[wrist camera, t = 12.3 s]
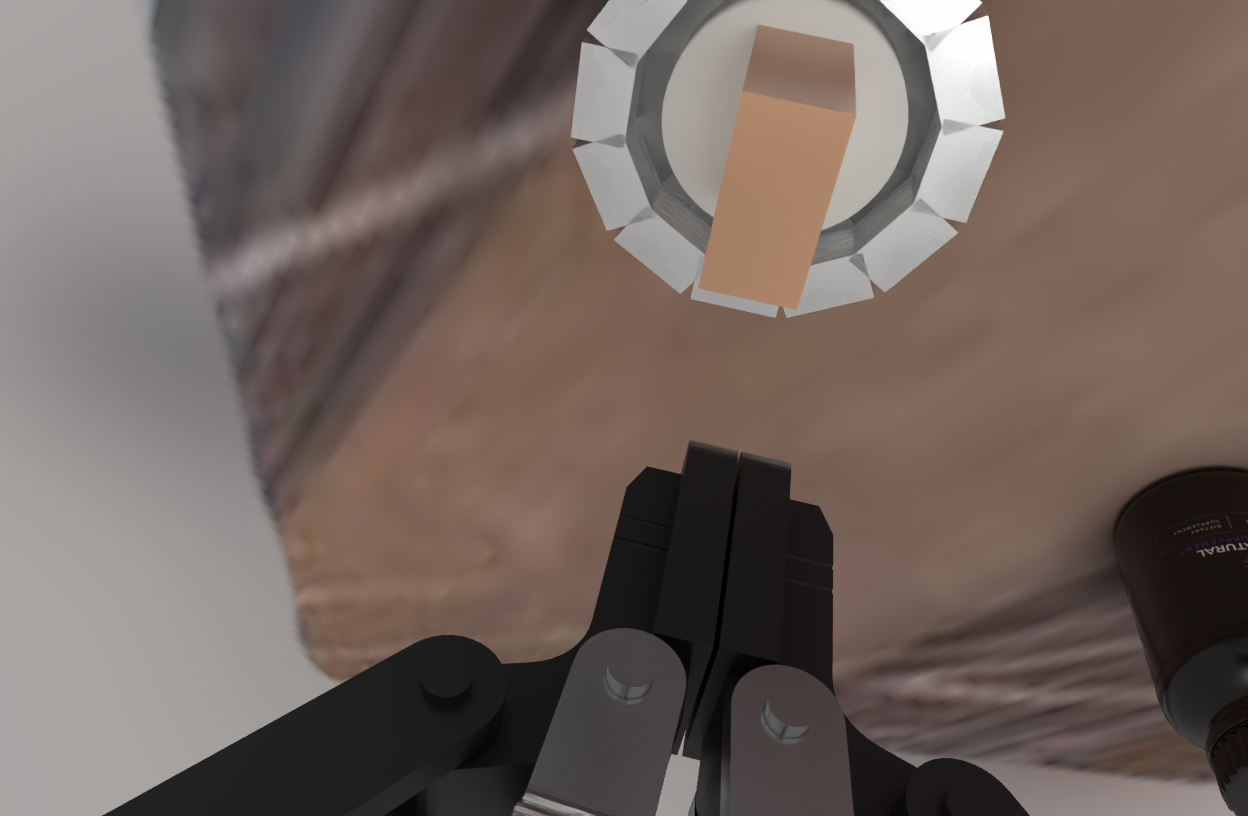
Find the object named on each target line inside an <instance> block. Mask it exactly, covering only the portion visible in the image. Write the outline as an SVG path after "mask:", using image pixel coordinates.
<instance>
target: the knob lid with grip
mask: <svg viewBox="0 0 1248 816" xmlns="http://www.w3.org/2000/svg"><path fill="white" fill-rule="evenodd" d="M907 127H908V100H907V94H906V87H905V81H904V75H903V69H902V65H901V61H900V58H899V55H898V51H897V49H896V47H895V45H894V43H893V41H892V38H891V37H890V35H889V34H888V32H887V30H886V29H885V27H884V26H883V24H882V23H881V22H880V21H879V20H878V19H877V17H876V16H875V15H874V14H873V13H872V12H871V11H870V10H869V9H867V8H866V7H865V6H864V5H863V4H862V3H860V2H859V1H857V0H726V1H724V2H723V3H721V4H720V5H719V6H718V7H716V8H715V9H714V10H713V11H711V12H710V13H709V14H708V15H707V16H706V17H705V18H704V19H703V20H702V21H701V22H700V23H699V25H698V26H697V27H696V29H695V30H694V31H693V33H692V34H691V35H690V37H689V38H688V40H687V42H686V44H685V46H684V48H683V49H682V51H681V54H680V56H679V58H678V61H677V63H676V65H675V68H674V70H673V72H672V75H671V77H670V80H669V83H668V85H667V88H666V93H665V97H664V101H663V109H662V135H663V142H664V148H665V151H666V154H667V158H668V161H669V163H670V166H671V168H672V170H673V172H674V175H675V176H676V178H677V180H678V181H679V183H680V185H681V186H682V188H683V189H684V190H685V191H686V193H687V194H688V195H689V196H690V198H691V199H692V200H693V201H694V202H695V203H696V204H697V205H698V206H699V207H700V208H702V209H703V210H704V211H705V212H707V213H708V214H709V215H711V216H712V217H714V219H713V224H712V228H711V232H710V237H709V241H708V246H707V250H706V255H705V259H704V263H703V268H702V272H701V277H700V281H699V286H698V289H703V290H707V291H712V292H717V293H721V294H726V295H730V296H735V297H739V298H744V299H748V300H753V301H757V302H762V303H766V304H771V305H775V306H780V307H784V308H789V309H794V310H797V308H798V305H799V302H800V298H801V295H802V292H803V289H804V285H805V282H806V279H807V276H808V272H809V269H810V266H811V262H812V259H813V256H814V253H815V249H816V246H817V243H818V240H819V236H820V233H821V230H824V229H827V228H830V227H832V226H834V225H836V224H838V223H841V222H843V221H844V220H846V219H847V218H849V217H851V216H852V215H854V214H855V213H857V212H858V211H859V210H860V209H862V208H863V207H864V206H866V205H867V204H868V203H869V202H870V201H871V200H872V199H873V198H874V197H875V196H876V195H877V194H878V193H879V191H880V190H881V189H882V187H883V186H884V185H885V184H886V182H887V181H888V179H889V178H890V176H891V174H892V172H893V171H894V169H895V167H896V165H897V163H898V160H899V158H900V156H901V153H902V150H903V147H904V143H905V139H906V134H907Z"/></svg>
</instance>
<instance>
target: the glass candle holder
mask: <svg viewBox="0 0 1248 816" xmlns="http://www.w3.org/2000/svg"><path fill="white" fill-rule="evenodd" d="M724 1H726V0H609V1H608V2H607V3H606V5H605V6H604V7H603V9H602V10H601V11H600V13H599V14H598V15H597V17H596V18H595V19H594V21H593V22H592V24H591V25H590V26H589V28H588V29H587V31H588V32H589V33H588V34H587V36H586V37H585V39H584V40H583V41H582V46H581V55H580V63H579V72H578V80H577V88H576V97H575V105H574V114H573V122H572V131H571V137H572V138H577V139H578V140H577V142H576V144H575V145H574V147H573V151H574V154H575V156H576V159H577V161H578V163H579V166H580V168H581V170H582V173H583V175H584V178H585V180H586V182H587V185H588V187H589V190H590V192H591V194H592V197H593V199H594V201H595V204H596V206H597V209H598V211H599V213H600V216H601V218H602V220H603V223H604V225H605V228H606V230H607V231H608V230H612V229H615V228H618V231H617V233H616V235H615V238H614V240H615V241H616V242H617V243H618V244H619V245H621V246H622V247H623V248H624V249H626V250H627V251H628V252H629V253H631V254H632V255H633V256H634V257H635V258H637V259H638V260H639V261H640V262H642V263H643V264H644V265H645V266H647V267H648V268H649V269H650V270H651V271H653V272H654V273H655V274H656V275H658V276H659V277H660V278H661V279H663V280H664V281H665V282H666V283H667V284H669V285H670V286H671V287H672V288H674V289H675V290H676V291H677V292H679V293H680V294H681V293H682V292H683V291H684V290H685V289H686V288H687V287H688V286H689V285H691V284H692V283H693V282H694V286H693V290H692V295H691V299H693V300H698V301H702V302H707V303H711V304H715V305H720V306H724V307H729V308H733V309H738V310H742V311H747V312H751V313H756V314H760V315H765V316H769V317H774V318H775V317H776V314H777V310H778V307H779V306H775V305H771V304H766V303H762V302H757V301H753V300H748V299H744V298H739V297H735V296H730V295H726V294H721V293H717V292H712V291H707V290H703V289H698V286H699V281H700V277H701V272H702V268H703V263H704V259H705V255H706V250H707V246H708V241H709V237H710V232H711V228H712V224H713V219H714V217H712V216H711V215H709V214H708V213H707V212H705V211H704V210H703V209H702V208H700V207H699V206H698V205H697V204H696V203H695V202H694V201H693V200H692V199H691V198H690V196H689V195H688V194H687V193H686V191H685V190H684V189H683V188H682V186H681V185H680V183H679V181H678V180H677V178H676V176H675V175H674V172H673V170H672V168H671V166H670V163H669V161H668V158H667V154H666V151H665V148H664V142H663V135H662V109H663V101H664V97H665V93H666V88H667V85H668V83H669V80H670V77H671V75H672V72H673V70H674V68H675V65H676V63H677V61H678V58H679V56H680V54H681V51H682V49H683V48H684V46H685V44H686V42H687V40H688V38H689V37H690V35H691V34H692V33H693V31H694V30H695V29H696V27H697V26H698V25H699V23H700V22H701V21H702V20H703V19H704V18H705V17H706V16H707V15H708V14H709V13H710V12H711V11H713V10H714V9H715V8H716V7H718V6H719V5H720V4H721V3H723V2H724ZM857 1H859V2H860V3H862V4H863V5H864V6H865V7H866V8H867V9H869V10H870V11H871V12H872V13H873V14H874V15H875V16H876V17H877V19H878V20H879V21H880V22H881V23H882V24H883V26H884V27H885V29H886V30H887V32H888V34H889V35H890V37H891V38H892V41H893V43H894V45H895V47H896V49H897V51H898V55H899V58H900V61H901V65H902V69H903V75H904V81H905V87H906V94H907V100H908V127H907V134H906V139H905V143H904V147H903V150H902V153H901V156H900V158H899V160H898V163H897V165H896V167H895V169H894V171H893V172H892V174H891V176H890V178H889V179H888V181H887V182H886V184H885V185H884V186H883V187H882V189H881V190H880V191H879V193H878V194H877V195H876V196H875V197H874V198H873V199H872V200H871V201H870V202H869V203H868V204H867V205H866V206H864V207H863V208H862V209H860V210H859V211H858V212H857V213H855V214H854V215H852V216H851V217H849V218H847V219H846V220H844V221H843V222H841V223H838V224H836V225H834V226H832V227H830V228H827V229H824V230H821V233H820V236H819V240H818V243H817V246H816V249H815V253H814V256H813V259H812V262H811V266H810V269H809V272H808V276H807V279H806V282H805V285H804V289H803V292H802V295H801V298H800V302H799V305H798V308H797V310H794V309H789V308H784V307H783V308H784V311H785V314H786V317H787V318H788V317H793V316H797V315H801V314H805V313H810V312H814V311H818V310H823V309H827V308H831V307H836V306H840V305H844V304H849V303H853V302H857V301H862V300H866V299H870V298H874V283H875V284H876V285H877V286H878V287H880V288H881V289H882V290H883V291H884V292H886V291H887V290H889V289H890V288H891V287H892V286H894V285H895V284H896V283H897V282H898V281H900V280H901V279H902V278H903V277H905V276H906V275H907V274H908V273H909V272H911V271H912V270H913V269H914V268H916V267H917V266H918V265H919V264H921V263H922V262H923V261H924V260H925V259H927V258H928V257H929V256H930V255H932V254H933V253H934V252H935V251H936V250H938V249H939V248H940V247H941V246H943V245H944V244H945V243H946V242H947V241H949V240H950V239H951V238H952V237H954V236H955V235H956V234H957V233H958V229H957V225H956V221H960V222H965V223H966V221H967V219H968V216H969V214H970V211H971V209H972V206H973V204H974V202H975V199H976V197H977V194H978V192H979V189H980V187H981V185H982V182H983V180H984V177H985V175H986V172H987V170H988V168H989V165H990V163H991V160H992V158H993V155H994V153H995V151H996V148H997V146H998V143H999V141H1000V138H1001V136H1002V134H1003V128H1002V126H1001V123H1000V119H1004V118H1005V114H1004V108H1003V102H1002V96H1001V90H1000V84H999V78H998V72H997V66H996V60H995V54H994V48H993V42H992V36H991V30H990V24H989V18H988V14H987V12H986V10H985V8H984V5H983V3H982V1H981V0H857ZM873 282H874V283H873Z"/></svg>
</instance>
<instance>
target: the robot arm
mask: <svg viewBox="0 0 1248 816" xmlns="http://www.w3.org/2000/svg"><path fill="white" fill-rule="evenodd" d="M737 460H738V462H737ZM790 482H791V464H790V463H787V462H783V461H779V460H774V459H770V458H766V457H761V456H757V455H753V454H748V453H744V452H741V454H740V456H739V459H738V451H734V450H730V449H726V448H721V447H717V446H713V445H708V444H704V443H700V442H695V441H691V440H690V441H689V444H688V448H687V452H686V456H685V460H684V464H683V468H682V472H681V474H678V473H673V472H669V471H665V470H660V469H656V468H652V467H648V466H647V467H646V468H645V469H644V470H643V471H642V472H641V473H640V474H639V475H638V476H637V477H636V478H635V479H634V480H633V481H632V482H631V483H630V484H629V485H628V486H627V488H626V492H625V496H624V500H623V504H622V508H621V511H620V515H619V520H618V523H617V527H616V531H615V534H614V539H613V542H612V546H611V550H610V554H609V557H608V561H607V565H606V569H605V573H604V577H603V580H602V584H601V588H600V592H599V596H598V600H597V604H596V607H595V611H594V615H593V619H592V622H591V625H590V628H589V630H588V631H587V633H586V635H585V636H584V637H583V639H582V640H581V641H580V642H579V643H578V644H577V645H576V646H575V647H573V648H572V649H571V650H569V651H567V652H566V653H564V654H562V655H560V656H557V657H555V658H552V659H548V660H545V661H538V662H528V663H510V664H501V662H500V661H499V659H498V658H497V656H496V655H495V654H494V653H493V652H492V651H491V650H490V649H489V648H487V647H486V646H484V645H483V644H481V643H479V642H477V641H475V640H473V639H470V638H466V637H463V636H456V635H440V636H434V637H430V638H426V639H423V640H421V641H419V642H416V643H414V644H412V645H410V646H409V647H407V648H405V649H403V650H401V651H400V652H398V653H396V654H394V655H392V656H391V657H389V658H387V659H385V660H383V661H381V662H380V663H378V664H376V665H374V666H372V667H371V668H369V669H367V670H365V671H363V672H362V673H360V674H358V675H356V676H354V677H353V678H351V679H349V680H347V681H345V682H343V683H342V684H340V685H338V686H336V687H334V688H333V689H331V690H329V691H327V692H325V693H324V694H322V695H320V696H318V697H316V698H315V699H313V700H311V701H309V702H307V703H305V704H304V705H302V706H300V707H298V708H296V709H295V710H293V711H291V712H289V713H287V714H286V715H284V716H282V717H280V718H279V719H277V720H275V721H273V722H271V723H269V724H268V725H266V726H264V727H262V728H260V729H258V730H257V731H255V732H253V733H251V734H249V735H248V736H246V737H244V738H242V739H240V740H239V741H237V742H235V743H233V744H231V745H229V746H228V747H226V748H224V749H222V750H220V751H219V752H217V753H215V754H213V755H211V756H210V757H208V758H206V759H204V760H202V761H201V762H199V763H197V764H195V765H193V766H191V767H190V768H188V769H186V770H184V771H182V772H181V773H179V774H177V775H175V776H173V777H172V778H170V779H168V780H166V781H164V782H163V783H161V784H159V785H157V786H155V787H153V788H152V789H150V790H148V791H146V792H145V793H143V794H141V795H139V796H137V797H136V798H134V799H132V800H130V801H128V802H126V803H125V804H123V805H121V806H119V807H117V808H116V809H114V810H112V811H110V812H108V813H106V814H105V815H103V816H655V814H656V810H657V806H658V802H659V798H660V794H661V790H662V786H663V782H664V777H665V774H666V769H667V766H668V763H669V759H670V756H671V754H675V755H677V754H678V751H679V748H680V745H681V742H682V739H683V736H684V733H685V730H686V733H685V740H684V747H683V754H682V756H685V757H689V758H693V759H697V760H700V767H699V775H698V783H697V790H696V793H695V796H694V799H693V801H692V804H691V806H690V809H689V813H688V816H1029V814H1028V813H1027V812H1026V811H1025V809H1024V808H1023V807H1022V806H1021V805H1020V803H1019V802H1018V801H1017V800H1016V799H1015V797H1014V796H1013V795H1012V794H1011V793H1010V791H1009V790H1008V789H1007V788H1005V786H1004V785H1003V784H1002V783H1001V782H1000V781H999V780H997V779H996V778H995V777H994V776H993V775H991V774H990V773H988V772H987V771H985V770H983V769H982V768H980V767H978V766H976V765H974V764H971V763H969V762H966V761H963V760H958V759H953V758H940V759H934V760H931V761H928V762H926V763H924V764H922V765H921V766H919V767H918V768H916V767H915V766H913V765H911V764H910V763H908V762H906V761H904V760H902V759H901V758H899V757H897V756H895V755H894V754H892V753H890V752H888V751H886V750H885V749H883V748H881V747H879V746H878V745H876V744H875V743H873V742H872V741H870V740H869V739H867V738H866V737H865V736H864V735H863V734H861V733H860V732H859V731H858V730H857V729H856V728H855V727H854V726H853V725H852V724H851V722H850V721H849V720H848V718H847V717H846V716H845V714H844V713H843V711H842V709H841V706H840V704H839V702H838V701H837V699H836V696H835V692H834V688H833V679H832V665H833V594H832V589H833V570H832V566H833V534H832V532H831V530H830V527H829V525H828V523H827V521H826V519H825V517H824V515H823V513H822V511H821V509H820V507H819V506H816V505H812V504H808V503H803V502H799V501H795V500H790Z"/></svg>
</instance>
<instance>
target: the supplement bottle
mask: <svg viewBox="0 0 1248 816" xmlns="http://www.w3.org/2000/svg"><path fill="white" fill-rule="evenodd" d="M1115 551H1116V556H1117V560H1118V563H1119V567H1120V571H1121V575H1122V578H1123V581H1124V585H1125V588H1126V592H1127V595H1128V599H1129V602H1130V605H1131V609H1132V612H1133V616H1134V619H1135V622H1136V626H1137V629H1138V633H1139V636H1140V640H1141V643H1142V646H1143V650H1144V653H1145V657H1146V660H1147V663H1148V667H1149V670H1150V674H1151V677H1152V681H1153V684H1154V687H1155V691H1156V694H1157V697H1158V701H1159V703H1160V706H1161V709H1162V711H1163V713H1164V716H1165V717H1166V719H1167V720H1168V722H1169V723H1170V725H1171V726H1172V727H1173V728H1174V729H1175V730H1176V732H1177V733H1179V734H1180V735H1181V736H1182V737H1183V738H1184V739H1185V740H1186V741H1188V742H1189V743H1191V744H1192V745H1193V746H1195V747H1196V748H1198V749H1200V750H1202V751H1203V752H1205V753H1206V755H1207V758H1208V762H1209V765H1210V767H1211V769H1212V771H1213V772H1214V774H1215V777H1216V780H1217V783H1218V786H1219V789H1220V792H1221V795H1222V797H1223V799H1224V801H1225V802H1226V804H1227V806H1228V808H1229V809H1230V810H1231V811H1233V812H1234V813H1235V815H1236V816H1248V474H1246V473H1241V472H1234V471H1203V472H1196V473H1191V474H1186V475H1182V476H1179V477H1176V478H1173V479H1170V480H1167V481H1165V482H1163V483H1161V484H1159V485H1157V486H1155V487H1153V488H1151V489H1150V490H1148V491H1146V492H1145V493H1144V494H1142V495H1141V496H1140V497H1138V498H1137V499H1136V500H1135V501H1134V502H1133V503H1132V504H1131V505H1130V506H1129V507H1128V509H1127V510H1126V511H1125V513H1124V514H1123V516H1122V517H1121V519H1120V521H1119V523H1118V526H1117V529H1116V534H1115Z"/></svg>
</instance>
